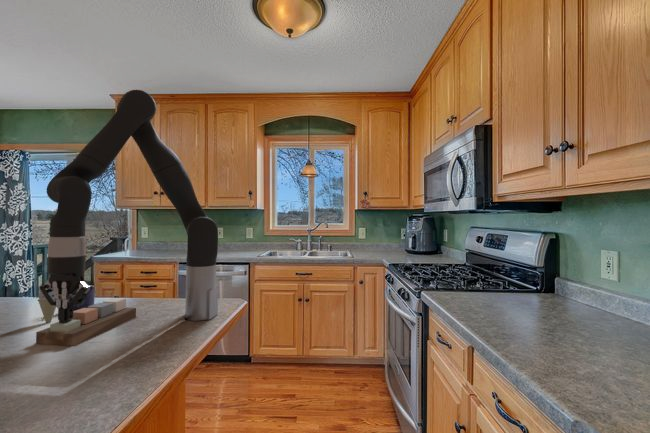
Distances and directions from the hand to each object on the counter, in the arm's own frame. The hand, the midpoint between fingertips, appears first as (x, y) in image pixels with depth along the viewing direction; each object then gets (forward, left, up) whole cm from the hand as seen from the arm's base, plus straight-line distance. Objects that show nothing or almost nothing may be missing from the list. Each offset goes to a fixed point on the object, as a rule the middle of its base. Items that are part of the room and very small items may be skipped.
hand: (65, 321), depth 79 cm
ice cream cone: (+17, -12, -6) cm, 21 cm away
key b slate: (0, -11, -2) cm, 11 cm away
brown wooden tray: (0, -8, -6) cm, 10 cm away
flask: (+20, -26, -6) cm, 33 cm away
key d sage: (0, 0, -3) cm, 3 cm away
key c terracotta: (0, -6, -2) cm, 6 cm away
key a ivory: (0, -17, -2) cm, 17 cm away
